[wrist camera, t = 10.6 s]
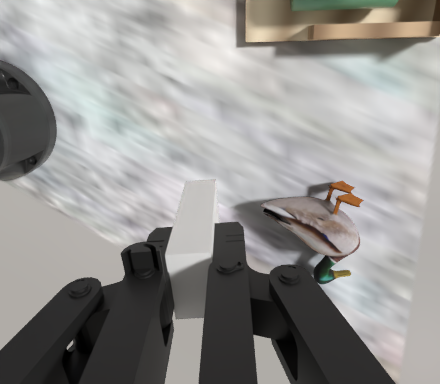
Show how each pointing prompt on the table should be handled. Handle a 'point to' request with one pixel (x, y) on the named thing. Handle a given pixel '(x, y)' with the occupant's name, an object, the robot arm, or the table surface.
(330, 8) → the bottle
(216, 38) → the table surface
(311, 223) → the decorative duck model
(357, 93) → the table surface
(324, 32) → the cradle
